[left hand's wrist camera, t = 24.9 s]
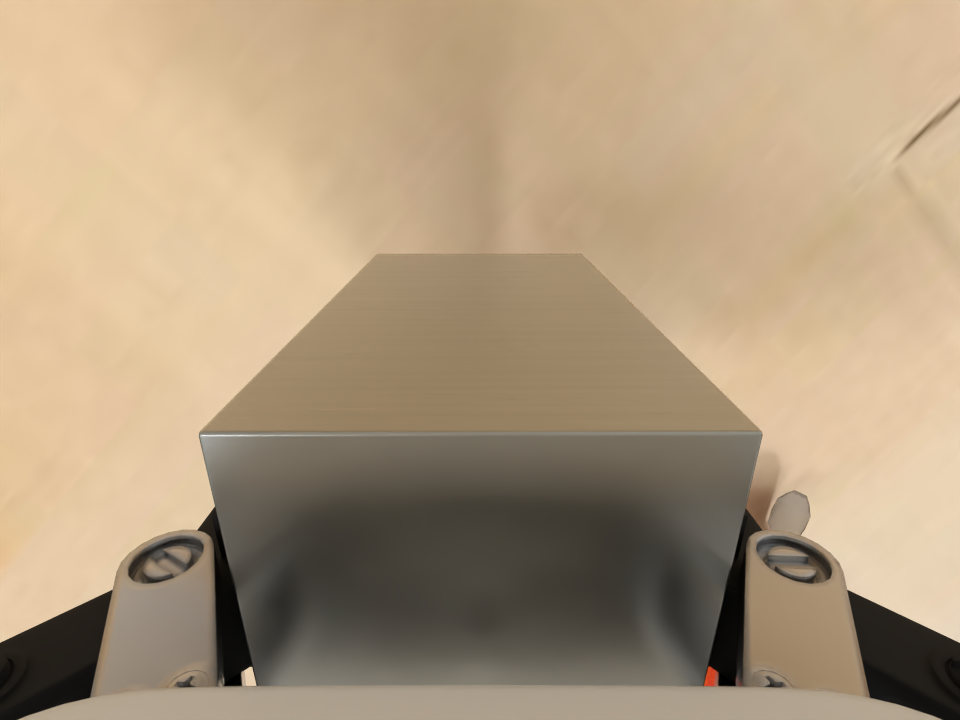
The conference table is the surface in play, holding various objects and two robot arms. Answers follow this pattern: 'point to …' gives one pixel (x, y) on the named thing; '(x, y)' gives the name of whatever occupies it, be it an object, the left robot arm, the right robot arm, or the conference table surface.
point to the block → (480, 485)
